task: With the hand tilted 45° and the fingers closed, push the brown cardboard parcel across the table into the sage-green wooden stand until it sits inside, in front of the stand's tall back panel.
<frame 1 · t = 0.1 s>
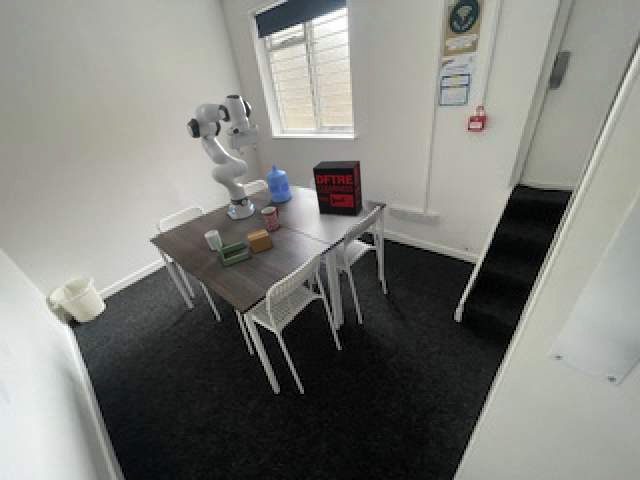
hand: (248, 153, 152), 48 cm above the table, tool pointing down, fingers open, 8 cm apart
white cup: (217, 247, 161), on the table
water jug: (281, 199, 213), on the table
stand: (236, 255, 150), on the table
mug: (275, 227, 173), on the table
parcel: (261, 246, 154), on the table
product box: (341, 210, 181), on the table
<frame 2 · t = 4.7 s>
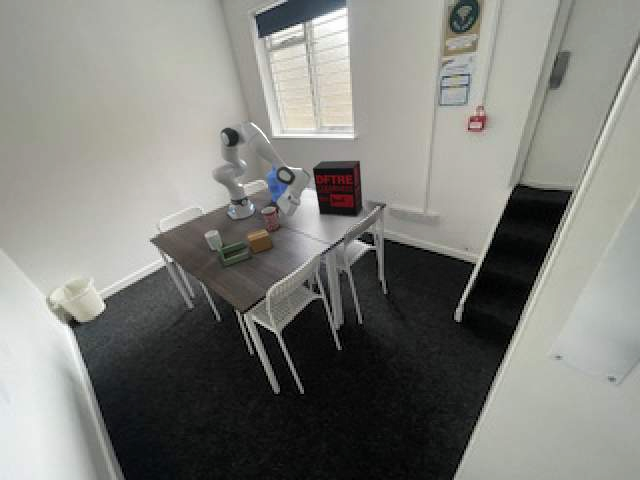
hand: (279, 216, 150), 15 cm above the table, tool tilted 45°, fingers closed
nothing on the table moved.
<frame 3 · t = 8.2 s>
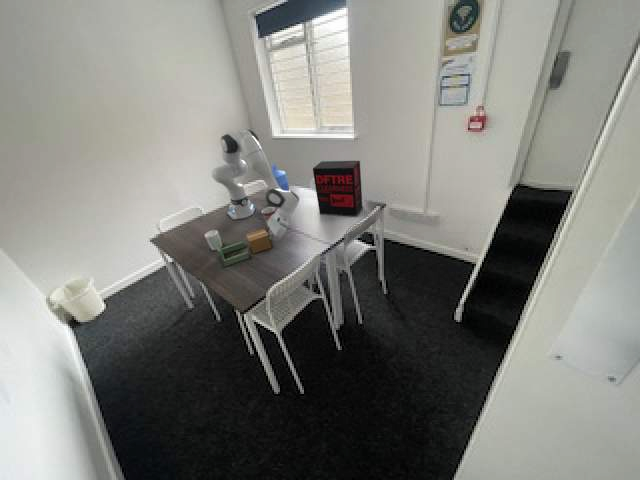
hand: (268, 237, 153), 5 cm above the table, tool tilted 45°, fingers closed, pressing on parcel
parcel: (260, 247, 154), on the table, touching gripper
everything else where it was.
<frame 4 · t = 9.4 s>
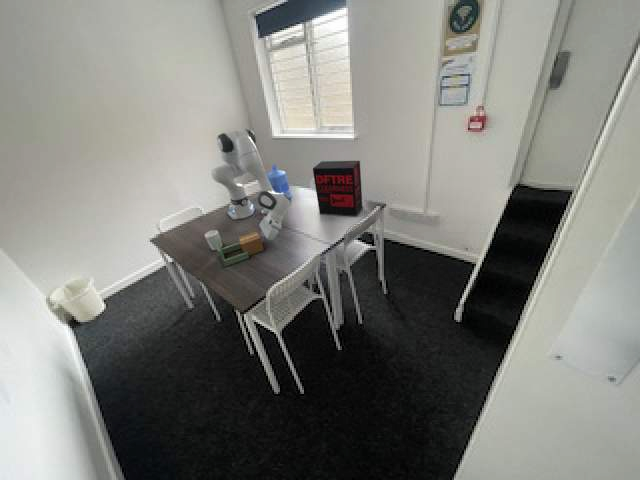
hand: (261, 239, 152), 5 cm above the table, tool tilted 45°, fingers closed, pressing on parcel
parcel: (253, 249, 153), on the table, touching gripper
everything else where it was.
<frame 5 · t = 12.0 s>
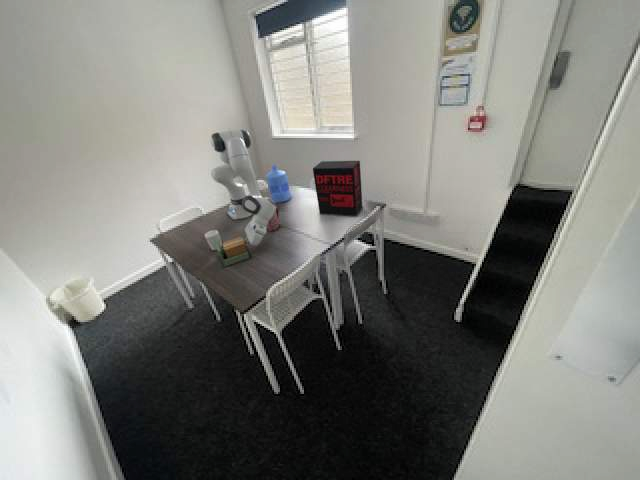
hand: (246, 244, 150), 5 cm above the table, tool tilted 45°, fingers closed, pressing on parcel
parcel: (238, 255, 150), resting in stand, touching gripper
everything else where it was.
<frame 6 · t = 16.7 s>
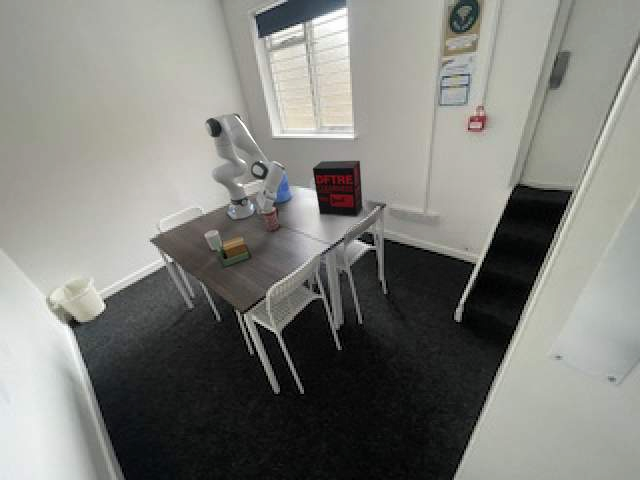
hand: (258, 213, 148), 20 cm above the table, tool tilted 40°, fingers closed
parcel: (238, 255, 150), resting in stand
everything else where it was.
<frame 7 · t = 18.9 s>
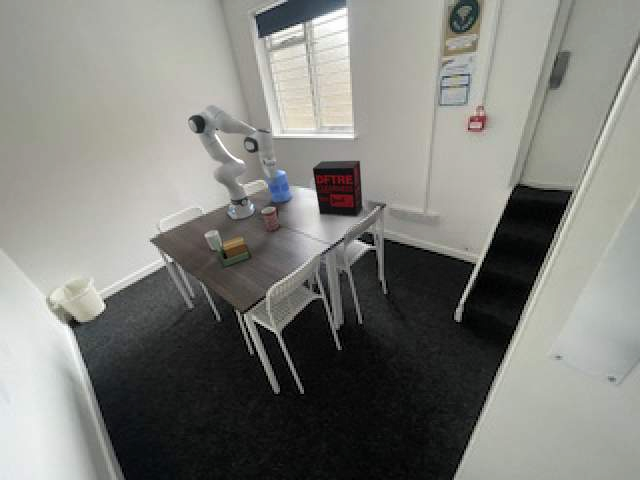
hand: (270, 182, 160), 30 cm above the table, tool pointing down, fingers closed
nothing on the table moved.
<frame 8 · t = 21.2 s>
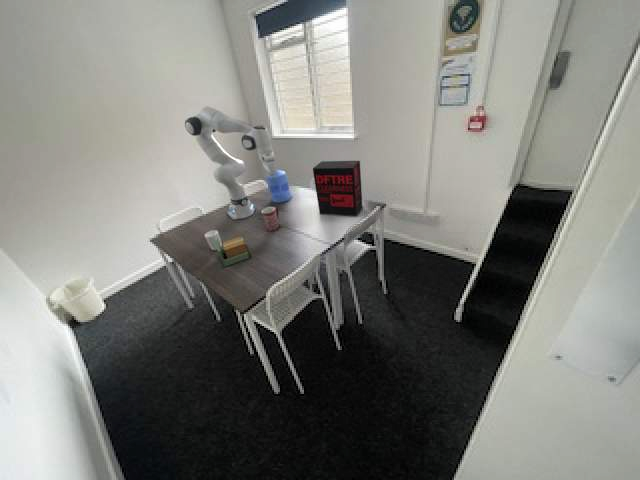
hand: (271, 177, 162), 31 cm above the table, tool pointing down, fingers closed
nothing on the table moved.
at the end: parcel 1.1 cm from the stand (horizontally); parcel tilted 0° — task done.
